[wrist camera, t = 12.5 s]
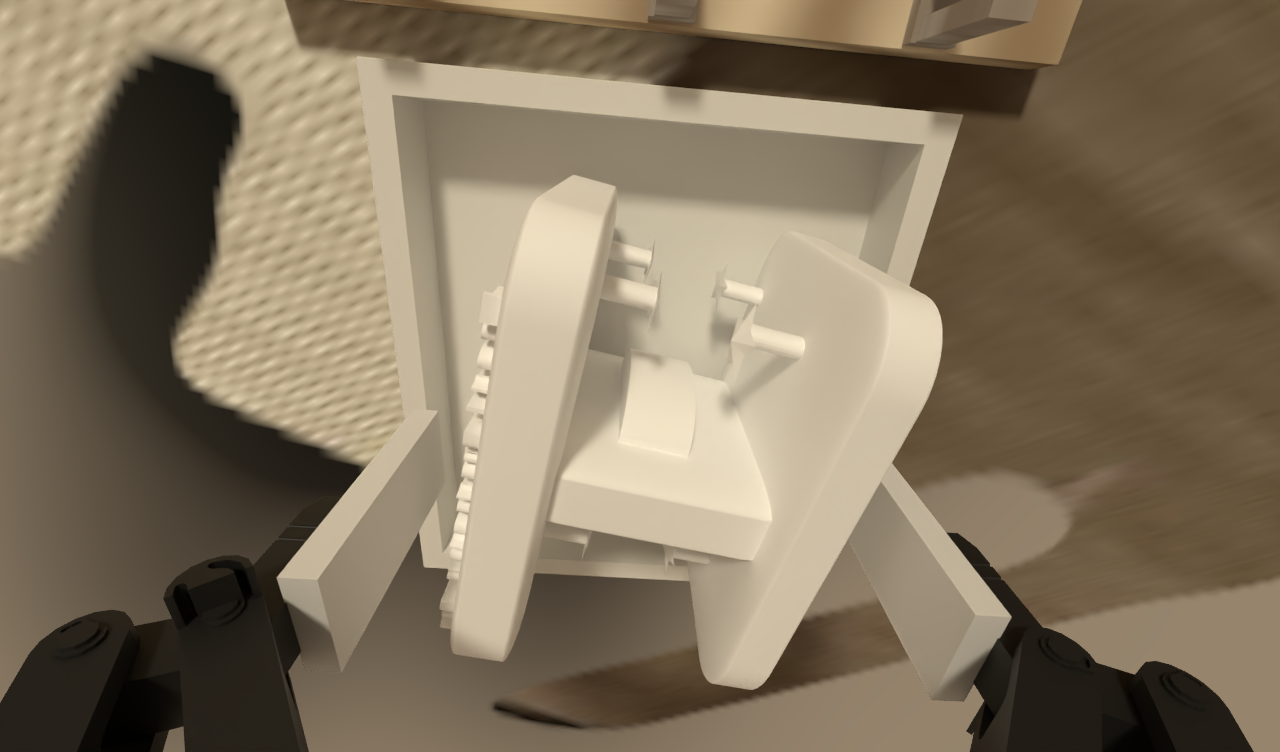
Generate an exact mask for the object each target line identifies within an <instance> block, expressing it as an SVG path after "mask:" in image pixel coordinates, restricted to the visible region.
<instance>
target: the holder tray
mask: <svg viewBox="0 0 1280 752" xmlns="http://www.w3.org/2000/svg"><path fill="white" fill-rule="evenodd" d="M356 61H357V68H358V76H359V83H360V91H361V98H362V106H363V113H364V121H365V128H366V136H367V143H368V151H369V158H370V166H371V173H372V181H373V188H374V196H375V203H376V211H377V218H378V226H379V233H380V241H381V248H382V256H383V263H384V271H385V278H386V286H387V293H388V301H389V308H390V316H391V323H392V331H393V338H394V346H395V353H396V361H397V368H398V376H399V383H400V391H401V398H402V406H403V413H404V420H405V419H406V418H407V417H408V415H409V414H410V413H411V412H412V410H413V409H418V410H432V411H438V412H439V422H440V432H441V442H442V452H443V462H444V472H445V482H446V483H445V485H444V486H443V488H442V490H441V492H440V494H439V496H438V497H437V499H436V501H435V503H434V505H433V507H432V508H431V510H430V512H429V514H428V516H427V517H426V519H425V521H424V523H423V525H422V527H421V528H420V530H419V533H420V541H421V548H422V556H423V563H424V567H429V568H449V566H450V563H451V561H452V559H450V553H451V550H452V549H451V548H449V545H450V543H451V540H452V538H453V534H454V532H453V530H454V525H455V521H456V518H457V516H458V513H459V512H458V511H456V509H457V504H458V501H459V499H457V498H456V495H457V493H458V491H459V488H460V484H461V482H463V480H464V478H465V477H461V473H462V469H463V465H464V463H465V461H463V459H464V455H465V448H466V446H463V445H462V442H463V434H464V431H465V429H466V428H467V426H468V424H469V422H470V421H471V419H472V417H473V415H474V414H475V413H472V412H470V411H466V406H467V404H468V403H469V401H470V400H471V398H472V396H473V395H474V393H475V392H474V391H473V390H471V387H472V385H473V383H474V381H475V377H476V375H479V373H480V372H481V370H482V369H481V368H477V360H478V356H479V353H480V350H481V348H482V346H483V344H484V343H485V341H486V340H485V339H482V338H481V331H482V327H483V324H484V323H481V322H479V318H480V311H481V303H482V296H483V293H484V292H485V291H486V292H490V293H493V292H494V291H495V290H496V289H497V287H498V286H501V287H504V284H505V279H506V275H507V271H508V267H509V263H510V259H511V255H512V252H513V248H514V245H515V242H516V239H517V236H518V233H519V230H520V227H521V225H522V222H523V220H524V217H525V215H526V213H527V211H528V209H529V207H530V206H531V204H532V203H533V202H534V201H535V199H536V198H537V197H539V196H541V195H542V194H544V193H545V192H547V191H548V190H550V189H552V188H553V187H555V186H556V185H558V184H559V183H561V182H563V181H564V180H566V179H567V178H569V177H570V176H572V175H577V176H580V177H584V178H588V179H591V180H595V181H598V182H602V183H605V184H609V185H613V186H615V187H616V189H617V212H616V220H615V227H614V233H613V238H612V241H616V242H619V243H623V244H627V245H631V246H634V247H638V248H642V249H646V250H649V249H651V248H652V246H653V243H654V240H655V247H654V257H653V264H652V267H651V269H650V272H649V274H648V277H647V279H646V282H645V285H649V286H654V280H655V283H656V284H657V282H658V279H659V277H660V274H661V271H662V277H661V286H660V296H659V303H658V306H657V309H656V311H655V314H654V317H653V319H652V322H651V325H650V327H649V330H648V321H649V316H646V314H647V311H648V310H644V309H640V308H636V307H632V306H628V305H624V304H620V303H616V302H613V301H609V300H605V299H601V298H600V300H599V304H598V309H597V313H596V318H595V322H594V326H593V330H592V334H591V339H590V343H589V347H588V349H590V350H595V351H599V352H603V353H608V354H612V355H616V356H620V357H624V356H625V353H626V351H627V349H628V348H632V349H636V350H640V351H645V352H649V353H653V354H657V355H661V356H665V357H669V358H674V359H678V360H682V361H686V362H688V363H689V365H690V367H691V369H692V372H693V374H695V375H700V376H704V377H708V378H712V379H716V380H721V377H722V374H723V372H724V369H725V366H726V360H727V356H728V351H729V347H730V342H731V339H732V335H733V332H734V329H735V326H736V323H737V319H738V317H739V318H740V319H742V320H743V317H744V315H745V312H746V309H747V307H748V303H744V302H740V301H736V300H733V299H729V298H725V297H721V296H720V299H719V303H718V306H717V310H716V297H714V298H711V296H712V293H713V290H714V287H715V285H716V276H717V271H718V272H720V273H722V272H723V270H724V268H725V266H726V264H727V268H726V274H725V279H727V280H731V281H735V282H738V283H742V284H746V285H750V286H754V287H755V285H756V282H757V280H758V277H759V274H760V272H761V270H762V267H763V265H764V263H765V261H766V259H767V257H768V255H769V253H770V251H771V250H772V248H773V246H774V245H775V244H776V242H777V241H778V239H779V238H780V237H781V236H782V235H783V234H784V233H786V232H788V231H794V232H798V233H801V234H805V235H809V236H812V237H816V238H819V239H823V240H825V241H827V242H829V243H831V244H833V245H834V246H836V247H838V248H840V249H842V250H844V251H845V252H847V253H849V254H851V255H853V256H855V257H856V258H858V259H860V260H862V261H864V262H866V263H867V264H869V265H871V266H873V267H875V268H876V269H878V270H880V271H882V272H884V273H886V274H887V275H889V276H891V277H893V278H895V279H897V280H898V281H900V282H902V283H904V284H906V285H908V286H909V285H910V282H911V278H912V275H913V272H914V269H915V266H916V263H917V259H918V256H919V253H920V250H921V247H922V244H923V240H924V237H925V234H926V231H927V228H928V225H929V221H930V218H931V215H932V212H933V209H934V206H935V202H936V199H937V196H938V193H939V190H940V187H941V183H942V180H943V177H944V174H945V171H946V168H947V164H948V161H949V158H950V155H951V152H952V149H953V146H954V142H955V139H956V136H957V133H958V130H959V127H960V123H961V120H962V117H963V115H961V114H950V113H940V112H930V111H919V110H909V109H899V108H888V107H878V106H867V105H857V104H847V103H836V102H826V101H816V100H805V99H795V98H785V97H774V96H764V95H753V94H743V93H733V92H722V91H712V90H702V89H691V88H681V87H671V86H660V85H650V84H639V83H629V82H619V81H608V80H598V79H588V78H577V77H567V76H557V75H546V74H536V73H525V72H515V71H505V70H494V69H484V68H474V67H463V66H453V65H443V64H432V63H422V62H412V61H401V60H391V59H380V58H370V57H360V56H356ZM727 262H728V263H727ZM644 271H645V268H641V267H637V266H633V265H629V264H625V263H622V262H618V261H614V260H610V259H608V262H607V267H606V271H605V274H607V275H610V276H614V277H618V278H622V279H626V280H630V281H634V282H638V283H641V284H644V281H645V274H644ZM647 330H648V333H647ZM583 549H584V544H579V543H574V542H569V541H564V540H558V539H553V538H548V537H543V539H542V543H541V548H540V552H539V556H538V560H537V564H536V568H535V573H544V574H563V575H582V576H602V577H620V578H639V579H658V580H677V581H690V580H689V572H688V564H687V561H686V560H680V559H675V558H673V561H674V565H673V564H672V563H671V562H670V561H669V562H668V566H667V569H666V573H665V551H664V548H663V545H662V544H658V543H652V542H647V541H642V540H637V539H632V538H627V537H622V536H617V535H612V534H607V533H601V532H596V531H592V534H591V537H590V540H589V543H588V547H587V548H586V550H585V553H584V555H583ZM582 555H583V558H582Z"/></svg>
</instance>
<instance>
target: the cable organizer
mask: <svg viewBox="0 0 1280 752" xmlns="http://www.w3.org/2000/svg"><path fill="white" fill-rule="evenodd" d="M616 212H617V189H616V187H615V186H613V185H609V184H605V183H602V182H598V181H595V180H591V179H588V178H584V177H580V176H577V175H572V176H570V177H569V178H567V179H566V180H564V181H563V182H561V183H559V184H558V185H556V186H555V187H553V188H552V189H550V190H548V191H547V192H545V193H544V194H542V195H541V196H539V197H537V198H536V199H535V201H534V202H533V203H532V204H531V206H530V207H529V209H528V211H527V213H526V215H525V217H524V220H523V222H522V225H521V227H520V230H519V233H518V236H517V239H516V242H515V245H514V248H513V252H512V255H511V259H510V263H509V267H508V271H507V275H506V279H505V284H504V287H501V286H498V287H497V289H496V290H495V291H494V292H493V293H490V292H486V291H485V292H484V293H483V296H482V303H481V311H480V318H479V322H481V323H484V324H483V327H482V331H481V338H482V339H485V340H486V341H485V343H484V344H483V346H482V348H481V350H480V353H479V356H478V360H477V368H481V369H482V370H481V372H480V373H479V375H476V377H475V381H474V383H473V385H472V387H471V390H473V391H474V392H475V393H474V395H473V396H472V398H471V400H470V401H469V403H468V404H467V406H466V411H470V412H472V413H475V414H474V415H473V417H472V419H471V421H470V422H469V424H468V426H467V428H466V429H465V431H464V434H463V442H462V445H463V446H466V448H465V455H464V459H463V461H465V463H464V465H463V469H462V473H461V477H465V478H464V480H463V482H461V484H460V488H459V491H458V493H457V495H456V498H457V499H459V501H458V504H457V509H456V511H458V512H459V513H458V516H457V518H456V521H455V525H454V530H453V532H454V534H453V538H452V540H451V543H450V545H449V548H451V549H452V550H451V553H450V559H452V561H451V563H450V566H449V568H448V574H447V579H450V580H449V582H448V585H447V587H446V589H445V592H444V594H443V597H442V599H441V602H440V610H443V611H442V620H441V624H440V627H441V628H447V629H451V649H452V652H453V653H454V654H458V655H464V656H470V657H476V658H482V659H489V660H495V661H501V662H502V661H504V660H505V659H506V658H507V656H508V655H509V653H510V651H511V649H512V647H513V645H514V642H515V640H516V637H517V635H518V632H519V629H520V626H521V623H522V619H523V616H524V612H525V609H526V605H527V601H528V597H529V593H530V589H531V585H532V581H533V576H534V573H535V568H536V564H537V560H538V556H539V552H540V548H541V543H542V539H543V537H548V538H553V539H558V540H564V541H569V542H574V543H579V544H584V549H583V555H584V553H585V550H586V548H587V547H588V543H589V540H590V537H591V534H592V531H596V532H601V533H607V534H612V535H617V536H622V537H627V538H632V539H637V540H642V541H647V542H652V543H658V544H662V545H663V548H664V551H665V573H666V569H667V566H668V562H669V561H670V562H671V563H672V564H673V565H674V561H673V558H675V559H680V560H686V561H687V564H688V572H689V580H690V588H691V595H692V603H693V612H694V620H695V627H696V636H697V644H698V652H699V659H700V665H701V668H702V672H703V674H704V676H705V678H706V679H707V681H709V682H710V683H712V684H717V685H723V686H730V687H736V688H742V689H748V690H753V689H756V688H758V687H760V686H761V685H762V684H763V683H764V682H765V681H766V680H767V679H768V677H769V676H770V674H771V673H772V671H773V669H774V667H775V666H776V664H777V662H778V660H779V659H780V657H781V655H782V653H783V652H784V650H785V648H786V646H787V645H788V643H789V641H790V639H791V638H792V636H793V634H794V632H795V631H796V629H797V627H798V625H799V624H800V622H801V620H802V618H803V617H804V615H805V613H806V611H807V610H808V608H809V606H810V605H811V603H812V601H813V599H814V597H815V596H816V594H817V592H818V591H819V589H820V587H821V585H822V584H823V582H824V580H825V578H826V576H827V575H828V573H829V571H830V570H831V568H832V566H833V564H834V563H835V560H836V559H837V557H838V556H839V554H840V552H841V550H842V549H843V547H844V545H845V543H846V542H847V540H848V538H849V536H850V535H851V533H852V531H853V529H854V528H855V526H856V524H857V523H858V521H859V519H860V517H861V516H862V514H863V512H864V510H865V509H866V507H867V505H868V503H869V502H870V500H871V498H872V496H873V495H874V493H875V491H876V489H877V488H878V486H879V484H880V482H881V481H882V479H883V477H884V475H885V474H886V472H887V470H888V468H889V467H890V465H891V463H892V461H893V460H894V458H895V456H896V454H897V453H898V451H899V449H900V448H901V446H902V444H903V442H904V441H905V439H906V437H907V435H908V434H909V432H910V430H911V428H912V427H913V425H914V423H915V421H916V420H917V418H918V416H919V414H920V413H921V411H922V409H923V407H924V405H925V403H926V401H927V399H928V397H929V394H930V392H931V389H932V386H933V384H934V381H935V378H936V375H937V371H938V367H939V363H940V358H941V351H942V322H941V317H940V314H939V311H938V308H937V307H936V305H935V304H934V302H933V301H932V300H931V299H930V298H929V297H927V296H926V295H924V294H922V293H920V292H919V291H917V290H915V289H913V288H911V287H909V286H908V285H906V284H904V283H902V282H900V281H898V280H897V279H895V278H893V277H891V276H889V275H887V274H886V273H884V272H882V271H880V270H878V269H876V268H875V267H873V266H871V265H869V264H867V263H866V262H864V261H862V260H860V259H858V258H856V257H855V256H853V255H851V254H849V253H847V252H845V251H844V250H842V249H840V248H838V247H836V246H834V245H833V244H831V243H829V242H827V241H825V240H823V239H819V238H816V237H812V236H809V235H805V234H801V233H798V232H794V231H788V232H786V233H784V234H783V235H782V236H781V237H780V238H779V239H778V241H777V242H776V244H775V245H774V246H773V248H772V250H771V251H770V253H769V255H768V257H767V259H766V261H765V263H764V265H763V267H762V270H761V272H760V274H759V277H758V280H757V282H756V285H755V287H754V286H750V285H746V284H742V283H738V282H735V281H731V280H727V279H725V274H726V268H727V264H726V266H725V268H724V270H723V272H722V273H720V272H718V271H717V276H716V285H715V287H714V290H713V293H712V296H711V298H714V297H716V310H717V306H718V303H719V299H720V296H721V297H725V298H729V299H733V300H736V301H740V302H744V303H748V307H747V309H746V312H745V315H744V317H743V320H742V319H740V318H739V317H738V319H737V323H736V326H735V329H734V332H733V335H732V339H731V342H730V347H729V351H728V356H727V360H726V366H725V369H724V372H723V374H722V377H721V380H716V379H712V378H708V377H704V376H700V375H695V374H693V372H692V369H691V367H690V365H689V363H688V362H686V361H682V360H678V359H674V358H669V357H665V356H661V355H657V354H653V353H649V352H645V351H640V350H636V349H632V348H628V349H627V351H626V353H625V356H624V357H620V356H616V355H612V354H608V353H603V352H599V351H595V350H590V349H588V347H589V343H590V339H591V334H592V330H593V326H594V322H595V318H596V313H597V309H598V304H599V300H600V298H601V299H605V300H609V301H613V302H616V303H620V304H624V305H628V306H632V307H636V308H640V309H644V310H648V311H647V314H646V316H649V321H648V330H649V327H650V325H651V322H652V319H653V317H654V314H655V311H656V309H657V306H658V303H659V296H660V286H661V277H662V271H661V274H660V277H659V279H658V282H657V284H656V283H655V280H654V286H649V285H645V282H646V279H647V277H648V274H649V272H650V269H651V267H652V264H653V257H654V247H655V240H654V243H653V246H652V248H651V249H649V250H646V249H642V248H638V247H634V246H631V245H627V244H623V243H619V242H616V241H612V238H613V233H614V227H615V220H616ZM608 259H610V260H614V261H618V262H622V263H625V264H629V265H633V266H637V267H641V268H645V271H644V274H645V281H644V284H641V283H638V282H634V281H630V280H626V279H622V278H618V277H614V276H610V275H607V274H605V271H606V267H607V262H608ZM727 263H728V262H727ZM648 330H647V333H648ZM583 555H582V558H583Z"/></svg>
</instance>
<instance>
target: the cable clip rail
mask: <svg viewBox="0 0 1280 752" xmlns="http://www.w3.org/2000/svg"><path fill="white" fill-rule="evenodd" d="M344 1H354V2H364V3H374V4H384V5H394V6H404V7H414V8H423V9H433V10H443V11H453V12H463V13H473V14H483V15H493V16H503V17H512V18H522V19H532V20H542V21H552V22H562V23H572V24H582V25H591V26H601V27H611V28H621V29H631V30H641V31H651V32H661V33H670V34H680V35H690V36H700V37H710V38H720V39H730V40H740V41H749V42H759V43H769V44H779V45H789V46H799V47H809V48H819V49H829V50H838V51H848V52H858V53H868V54H878V55H888V56H898V57H908V58H917V59H927V60H937V61H947V62H957V63H967V64H977V65H987V66H996V67H1006V68H1016V69H1026V70H1030V69H1036V68H1042V67H1048V66H1054V65H1058V64H1059V61H1060V59H1061V56H1062V53H1063V50H1064V48H1065V45H1066V42H1067V40H1068V37H1069V34H1070V32H1071V29H1072V26H1073V24H1074V21H1075V18H1076V16H1077V13H1078V10H1079V8H1080V5H1081V2H1082V0H344Z"/></svg>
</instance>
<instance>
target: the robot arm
mask: <svg viewBox="0 0 1280 752" xmlns="http://www.w3.org/2000/svg"><path fill="white" fill-rule="evenodd" d="M445 483H446V482H445V472H444V462H443V452H442V442H441V432H440V422H439V412H438V411H432V410H418V409H413V410H412V412H411V413H410V414H409V415H408V417H407V418H406V419H405V420H404V421H403V423H402V424H401V425H400V426H399V428H398V429H397V430H396V431H395V433H394V434H393V435H392V436H391V437H390V439H389V440H388V441H387V442H386V444H385V445H384V446H383V447H382V449H381V450H380V451H379V452H378V453H377V455H376V456H375V457H374V458H373V460H372V461H371V462H370V463H369V465H368V466H367V467H366V468H365V469H364V471H363V472H362V473H361V474H360V476H359V477H358V478H357V479H356V481H355V482H354V483H353V485H351V487H350V488H349V489H348V490H347V492H346V493H345V494H344V495H343V497H328V496H323V497H322V498H320V499H318V500H317V501H315V502H314V503H312V504H311V505H309V506H308V507H306V508H304V509H303V510H302V512H300V514H299V515H298V516H297V517H296V518H295V519H294V520H293V521H292V523H291V524H290V527H289V528H286V529H285V531H284V532H283V533H282V534H281V535H280V536H279V539H278V540H276V541H275V542H274V543H273V544H272V545H271V546H270V547H269V548H268V550H267V551H266V552H265V553H264V554H263V555H262V556H261V557H260V559H259V560H258V561H257V562H256V563H255V564H254V565H252V563H251V562H250V560H249V559H247V558H244V557H241V556H238V555H235V556H221V557H217V558H213V559H209V560H206V561H204V562H201V563H199V564H197V565H195V566H193V567H190V568H189V569H188V570H187V571H185V572H183V573H182V574H181V575H179V576H177V577H176V578H175V579H174V581H173V582H172V583H171V584H170V585H169V586H168V587H167V589H166V592H165V595H164V601H165V603H166V606H167V608H168V610H169V612H170V614H171V617H172V619H168V620H164V621H158V622H153V623H148V624H143V625H138V626H134V624H133V622H132V620H131V619H130V617H129V616H128V615H127V614H126V613H125V612H121V611H116V610H107V611H101V612H94V613H92V614H88V615H86V616H83V617H80V618H77V619H75V620H73V621H71V622H69V623H67V624H65V625H63V626H61V627H59V628H57V629H56V630H54V631H53V632H52V633H50V634H49V635H48V636H46V637H45V638H44V639H42V640H41V641H40V642H39V643H38V645H36V647H35V648H34V649H33V650H32V651H31V652H30V654H29V655H28V657H27V659H26V660H25V662H24V664H23V665H22V667H21V669H20V671H19V672H18V674H17V675H16V677H15V679H14V681H13V682H12V684H11V686H10V687H9V689H8V691H7V693H6V694H5V696H4V697H3V699H2V701H1V703H0V752H163V749H164V745H165V742H166V738H167V735H168V732H169V730H171V729H175V728H178V727H182V726H184V741H185V752H309V751H308V747H307V743H306V739H305V735H304V731H303V727H302V723H301V719H300V715H299V711H298V707H297V703H296V699H295V695H294V692H293V687H292V683H291V679H290V676H289V673H288V670H289V669H290V668H291V666H292V665H293V663H294V661H295V660H296V658H297V657H298V655H299V654H300V655H301V659H302V662H303V665H304V669H305V671H318V672H340V673H341V672H342V671H343V669H344V667H345V665H346V663H347V661H348V660H349V658H350V656H351V654H352V652H353V651H354V649H355V647H356V645H357V643H358V641H359V640H360V638H361V636H362V634H363V632H364V630H365V629H366V627H367V625H368V623H369V621H370V620H371V618H372V616H373V614H374V612H375V610H376V609H377V607H378V605H379V603H380V601H381V600H382V598H383V596H384V594H385V592H386V590H387V588H388V587H389V585H390V583H391V581H392V579H393V577H394V576H395V574H396V572H397V570H398V569H399V567H400V565H401V563H402V561H403V559H404V558H405V556H406V554H407V552H408V550H409V548H410V547H411V545H412V543H413V541H414V539H415V538H416V536H417V534H418V532H419V530H420V528H421V527H422V525H423V523H424V521H425V519H426V517H427V516H428V514H429V512H430V510H431V508H432V507H433V505H434V503H435V501H436V499H437V497H438V496H439V494H440V492H441V490H442V488H443V486H444V485H445ZM848 542H849V544H850V545H851V547H852V549H853V551H854V553H855V555H856V557H857V559H858V561H859V563H860V565H861V566H862V568H863V570H864V572H865V574H866V576H867V578H868V580H869V582H870V584H871V586H872V588H873V589H874V591H875V593H876V595H877V597H878V599H879V601H880V603H881V605H882V607H883V609H884V610H885V612H886V614H887V616H888V618H889V620H890V622H891V624H892V626H893V628H894V630H895V632H896V633H897V635H898V637H899V639H900V641H901V643H902V645H903V647H904V649H905V651H906V653H907V654H908V656H909V658H910V660H911V662H912V664H913V666H914V668H915V670H916V672H917V673H918V675H919V677H920V679H921V681H922V683H923V685H924V687H925V689H926V691H927V693H928V695H929V697H930V698H931V700H944V701H964V700H965V699H966V697H967V695H968V693H969V692H970V690H971V688H972V686H973V685H975V686H976V688H977V689H978V691H979V692H980V694H981V696H982V698H983V699H984V702H983V704H982V706H981V707H980V709H979V711H978V713H977V714H976V716H975V717H974V719H973V721H972V722H971V724H970V726H969V728H968V729H967V732H968V733H970V734H973V733H974V735H973V739H972V744H971V749H970V752H1253V750H1252V748H1251V746H1250V745H1249V743H1248V741H1247V740H1246V738H1245V736H1244V734H1243V733H1242V731H1241V729H1240V728H1239V726H1238V724H1237V723H1236V721H1235V719H1234V717H1233V716H1232V714H1231V712H1230V710H1229V709H1228V707H1227V706H1226V705H1225V704H1224V702H1223V701H1222V700H1221V699H1220V697H1219V696H1218V695H1217V694H1216V693H1214V692H1213V691H1212V690H1211V689H1210V688H1209V687H1207V686H1206V685H1205V684H1204V683H1202V682H1201V681H1200V680H1198V679H1197V678H1195V677H1193V676H1192V675H1190V674H1188V673H1187V672H1185V671H1183V670H1181V669H1178V668H1176V667H1174V666H1172V665H1169V664H1165V663H1161V662H1157V661H1152V662H1145V663H1144V665H1143V666H1142V667H1141V668H1140V669H1139V670H1138V672H1137V673H1136V674H1135V675H1134V674H1130V673H1127V672H1124V671H1121V670H1118V669H1115V668H1111V667H1108V666H1105V665H1102V664H1098V663H1096V662H1095V661H1094V659H1093V658H1092V657H1091V656H1090V654H1089V653H1088V652H1087V651H1086V650H1084V649H1083V648H1082V647H1081V646H1080V645H1079V644H1077V643H1076V642H1075V641H1073V640H1071V639H1070V638H1068V637H1066V636H1064V635H1063V634H1061V633H1058V632H1056V631H1053V630H1051V629H1048V628H1043V627H1042V626H1041V625H1040V624H1039V623H1038V621H1037V620H1036V619H1035V618H1034V617H1033V615H1032V614H1031V613H1030V612H1029V611H1028V609H1027V608H1026V607H1025V606H1024V604H1023V603H1022V602H1021V601H1020V600H1019V598H1018V597H1017V596H1016V595H1015V594H1014V592H1013V591H1012V590H1011V589H1010V587H1009V586H1008V585H1007V584H1006V583H1005V581H1004V580H1001V577H1000V575H999V574H998V573H997V572H996V571H995V569H994V568H993V567H990V563H989V562H988V561H987V560H986V558H985V557H984V556H983V555H982V554H981V552H980V551H979V550H978V549H977V548H976V547H975V546H974V545H972V544H971V543H970V542H968V541H967V540H966V539H965V538H963V537H962V536H960V535H959V534H958V533H946V532H945V531H944V530H943V528H942V527H941V526H940V524H939V523H938V522H937V520H936V519H935V518H934V517H933V515H932V514H931V513H930V511H929V510H928V509H927V508H926V506H925V505H924V504H923V502H922V501H921V500H920V499H919V497H918V496H917V495H916V493H915V492H914V491H913V490H912V488H911V487H910V486H909V485H908V483H907V482H906V481H905V479H904V478H903V477H902V476H901V474H900V473H899V472H898V470H897V469H896V468H895V467H894V465H893V464H892V463H891V465H890V467H889V468H888V470H887V472H886V474H885V475H884V477H883V479H882V481H881V482H880V484H879V486H878V488H877V489H876V491H875V493H874V495H873V496H872V498H871V500H870V502H869V503H868V505H867V507H866V509H865V510H864V512H863V514H862V516H861V517H860V519H859V521H858V523H857V524H856V526H855V528H854V529H853V531H852V533H851V535H850V536H849V538H848Z"/></svg>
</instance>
